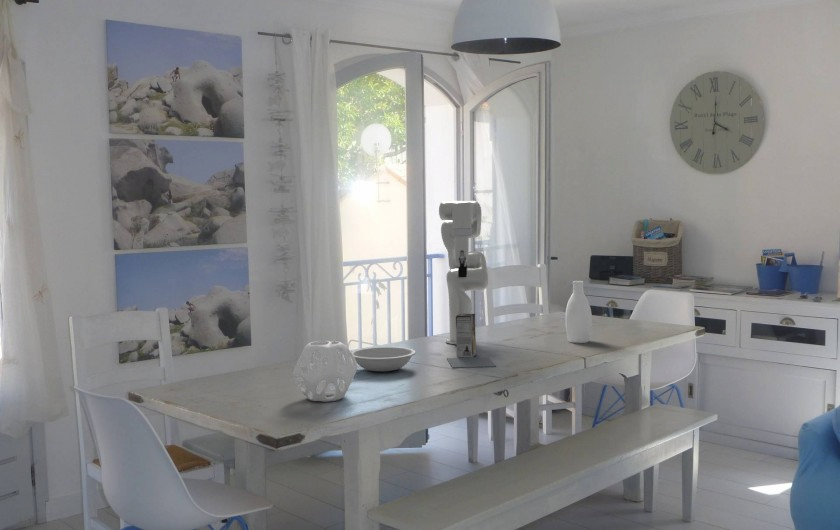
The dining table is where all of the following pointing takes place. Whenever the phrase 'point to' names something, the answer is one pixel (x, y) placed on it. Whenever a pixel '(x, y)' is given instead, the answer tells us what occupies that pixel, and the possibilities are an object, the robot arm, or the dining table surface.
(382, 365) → the soup bowl
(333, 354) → the decorative ball
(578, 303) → the bottle
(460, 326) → the coffee box
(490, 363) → the slate mat
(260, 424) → the dining table surface
